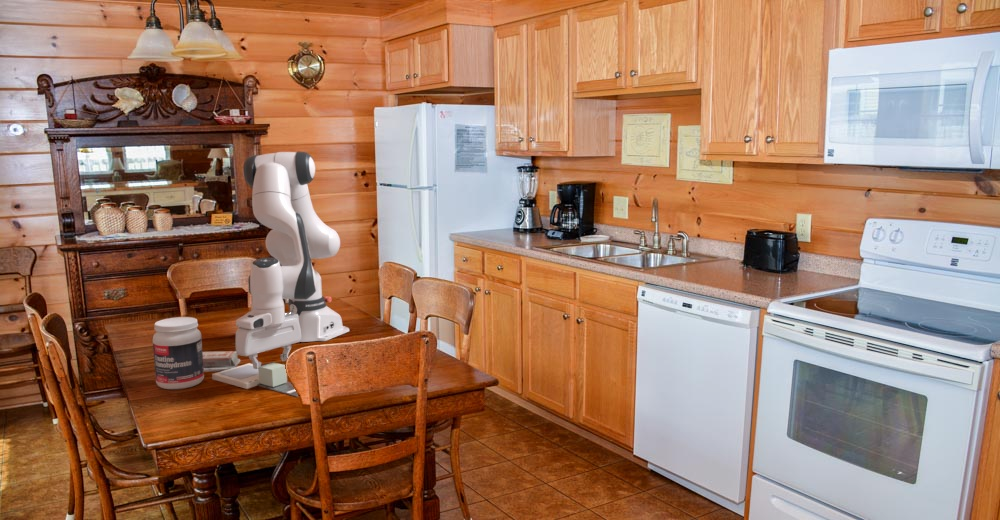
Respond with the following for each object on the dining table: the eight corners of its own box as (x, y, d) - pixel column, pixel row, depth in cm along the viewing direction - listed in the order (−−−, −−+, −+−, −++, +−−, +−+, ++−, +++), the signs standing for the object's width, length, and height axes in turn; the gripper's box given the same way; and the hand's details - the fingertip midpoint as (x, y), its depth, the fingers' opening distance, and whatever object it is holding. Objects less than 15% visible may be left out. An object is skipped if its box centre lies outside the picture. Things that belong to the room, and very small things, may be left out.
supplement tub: (153, 393, 211) (147, 328, 208) (159, 379, 223) (154, 318, 220) (202, 388, 214) (197, 324, 211) (206, 375, 227) (202, 314, 224)
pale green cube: (273, 378, 220) (272, 361, 220) (287, 382, 217) (286, 364, 216) (259, 383, 216) (258, 365, 216) (273, 387, 213) (271, 369, 212)
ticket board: (249, 367, 233) (249, 362, 233) (323, 387, 214) (323, 381, 214) (212, 379, 223) (211, 373, 222) (287, 400, 204) (286, 394, 204)
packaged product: (240, 347, 240) (231, 356, 230) (241, 362, 240) (232, 372, 231) (181, 349, 238) (170, 358, 228) (182, 364, 239) (171, 374, 229)
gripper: (290, 308, 224) (292, 354, 226) (230, 321, 207) (233, 371, 209) (305, 311, 220) (307, 357, 222) (245, 324, 203) (248, 374, 206)
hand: (271, 364), depth 215 cm, fingers open, 8 cm apart
